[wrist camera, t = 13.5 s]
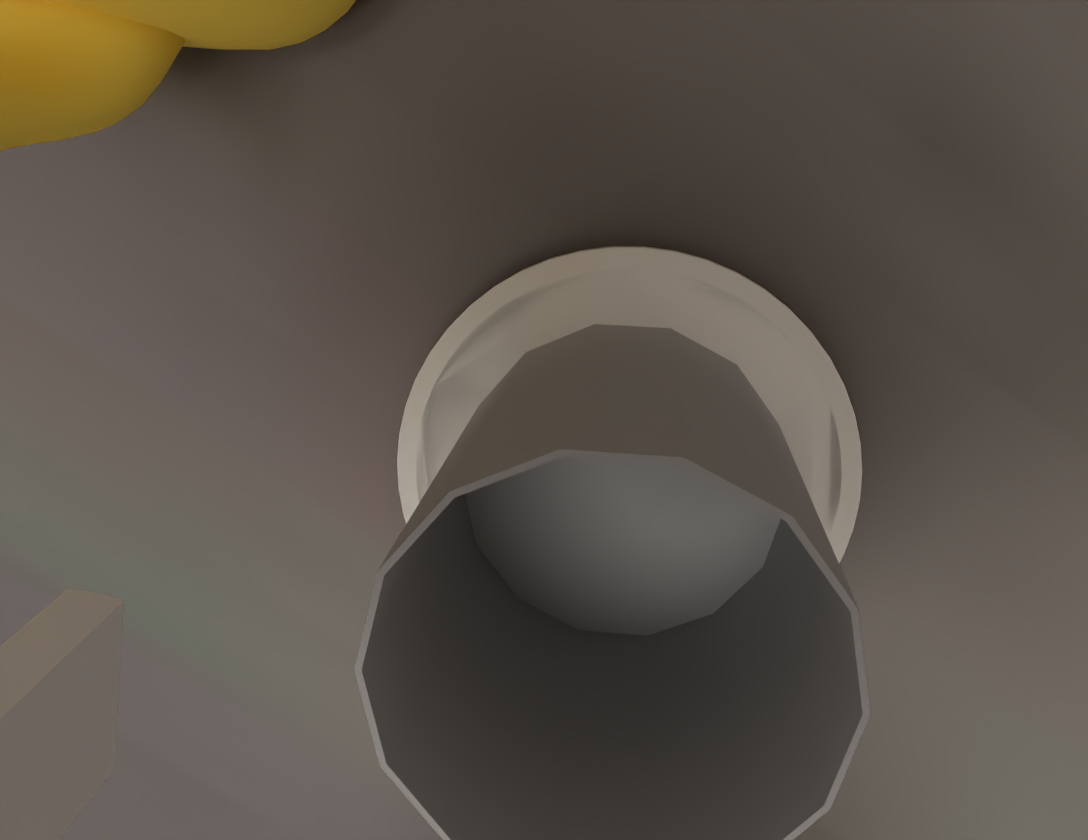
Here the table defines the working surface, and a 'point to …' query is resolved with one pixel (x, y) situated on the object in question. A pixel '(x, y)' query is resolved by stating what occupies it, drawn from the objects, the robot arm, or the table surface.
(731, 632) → the cup
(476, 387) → the dish
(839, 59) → the table surface
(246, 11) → the teapot
